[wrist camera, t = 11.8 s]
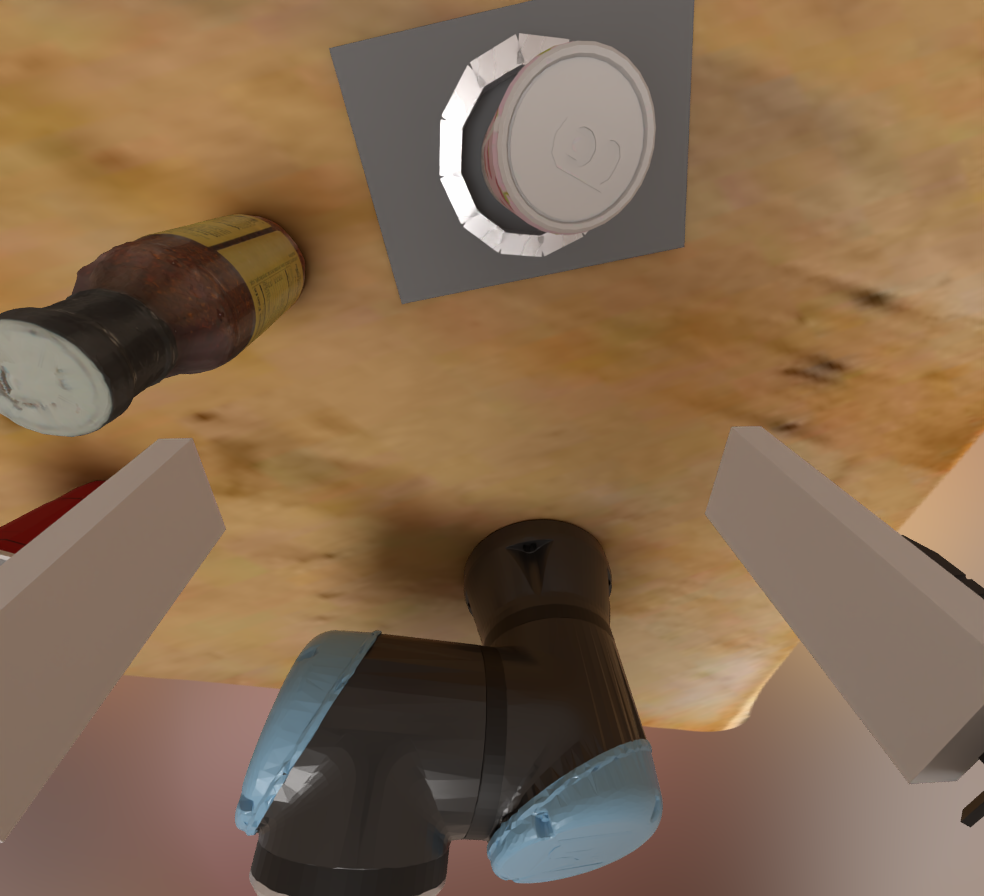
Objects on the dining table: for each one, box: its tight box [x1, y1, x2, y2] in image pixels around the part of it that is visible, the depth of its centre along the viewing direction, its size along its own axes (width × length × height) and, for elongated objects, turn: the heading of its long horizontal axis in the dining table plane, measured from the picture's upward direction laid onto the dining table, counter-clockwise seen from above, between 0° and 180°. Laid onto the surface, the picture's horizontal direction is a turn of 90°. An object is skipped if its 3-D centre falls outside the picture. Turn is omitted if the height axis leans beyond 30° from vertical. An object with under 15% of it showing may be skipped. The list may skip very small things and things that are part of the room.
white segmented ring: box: [440, 33, 588, 257], centre depth 27 cm, size 10×10×2 cm
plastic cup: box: [0, 481, 106, 566], centre depth 35 cm, size 11×11×12 cm
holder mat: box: [329, 0, 694, 304], centre depth 28 cm, size 20×14×1 cm
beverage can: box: [480, 41, 656, 235], centre depth 21 cm, size 6×6×15 cm
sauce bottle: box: [0, 214, 305, 437], centre depth 22 cm, size 7×6×20 cm
